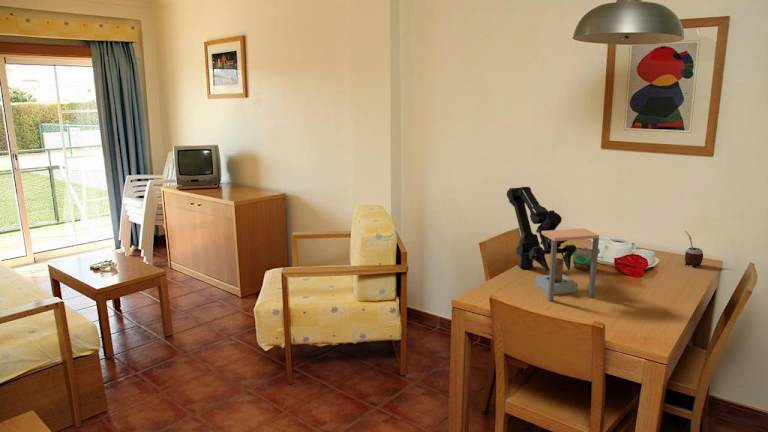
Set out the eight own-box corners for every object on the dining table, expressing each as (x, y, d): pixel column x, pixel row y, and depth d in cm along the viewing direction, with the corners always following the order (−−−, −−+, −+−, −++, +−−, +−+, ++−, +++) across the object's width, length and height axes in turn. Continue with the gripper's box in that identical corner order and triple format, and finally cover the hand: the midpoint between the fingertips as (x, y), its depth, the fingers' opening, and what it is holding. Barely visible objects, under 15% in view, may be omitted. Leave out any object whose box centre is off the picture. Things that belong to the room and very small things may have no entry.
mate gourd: (702, 269, 236) (706, 236, 233) (682, 266, 240) (686, 234, 236) (700, 264, 243) (704, 232, 240) (681, 262, 246) (685, 231, 243)
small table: (528, 284, 220) (531, 225, 214) (569, 281, 223) (573, 223, 218) (550, 301, 202) (554, 238, 196) (594, 297, 205) (599, 235, 199)
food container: (567, 269, 238) (569, 248, 236) (569, 265, 243) (571, 244, 241) (597, 273, 232) (598, 251, 230) (598, 269, 238) (600, 248, 235)
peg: (547, 287, 217) (549, 259, 214) (555, 285, 219) (556, 257, 216) (556, 290, 213) (558, 262, 210) (563, 288, 215) (565, 260, 213)
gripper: (533, 228, 212) (544, 262, 204) (576, 225, 216) (588, 259, 208) (523, 241, 222) (534, 275, 214) (565, 239, 225) (576, 272, 217)
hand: (558, 270), depth 213 cm, fingers open, 9 cm apart
